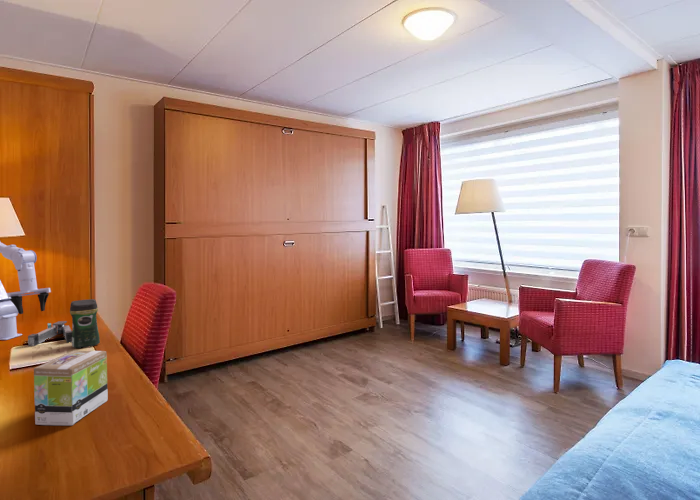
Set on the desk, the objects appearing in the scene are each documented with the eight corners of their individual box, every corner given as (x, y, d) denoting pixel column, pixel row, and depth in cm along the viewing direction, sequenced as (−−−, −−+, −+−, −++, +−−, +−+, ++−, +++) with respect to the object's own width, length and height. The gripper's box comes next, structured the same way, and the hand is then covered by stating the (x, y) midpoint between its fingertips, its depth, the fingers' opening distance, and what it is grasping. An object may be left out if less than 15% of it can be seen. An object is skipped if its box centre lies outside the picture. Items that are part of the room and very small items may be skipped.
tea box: (74, 426, 105) (71, 368, 104) (34, 426, 106) (30, 368, 104) (109, 400, 120) (107, 349, 119) (74, 400, 121) (71, 349, 119)
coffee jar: (99, 341, 177) (97, 297, 176) (100, 345, 171) (98, 300, 169) (71, 345, 172) (69, 299, 170) (71, 350, 165) (69, 303, 164)
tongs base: (57, 333, 189) (56, 323, 189) (68, 331, 192) (68, 322, 191) (60, 343, 173) (60, 333, 173) (73, 342, 176) (72, 332, 175)
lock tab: (48, 332, 190) (47, 323, 189) (51, 331, 190) (50, 323, 190) (48, 334, 186) (48, 325, 186) (51, 333, 187) (51, 324, 187)
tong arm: (56, 332, 190) (55, 321, 190) (67, 332, 191) (66, 321, 190) (28, 346, 170) (27, 334, 169) (40, 345, 170) (40, 333, 170)
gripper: (1, 283, 169) (6, 316, 169) (44, 278, 173) (48, 310, 174) (10, 281, 176) (14, 314, 176) (50, 276, 180) (55, 308, 181)
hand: (32, 312), depth 175 cm, fingers open, 7 cm apart
